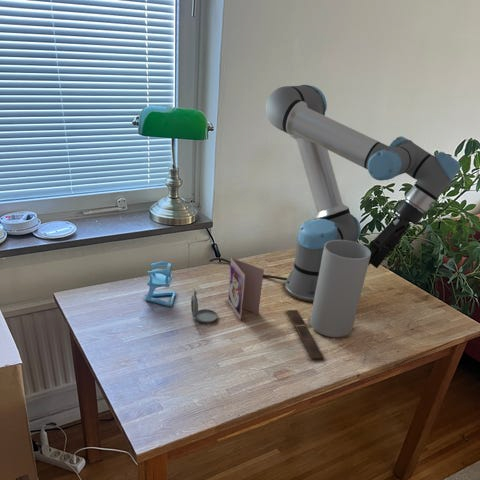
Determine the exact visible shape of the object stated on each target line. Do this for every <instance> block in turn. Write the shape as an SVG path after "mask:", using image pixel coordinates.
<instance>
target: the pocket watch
mask: <svg viewBox="0 0 480 480" xmlns="http://www.w3.org/2000/svg"><path fill="white" fill-rule="evenodd" d="M193 290H194V292H193V294H192V295H191V298H190V308H191V314H192V318H194V319H195V320H196V321H197V322H200V323H202V324H203V323H204V324H210V323H213V322H216V320H217V319H218V313H217V311H214V310H212V309H207V308H203V309H199V301H198V297H197V291H196V290H195V287H193Z"/></svg>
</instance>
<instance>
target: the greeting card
mask: <svg viewBox="0 0 480 480" xmlns="http://www.w3.org/2000/svg"><path fill="white" fill-rule="evenodd" d="M230 261H231V264H230V263H228V264H229V277H228V278H229V279H228V289H227V291H228V292H227V303H228V304H229V306H230V307H231V309H232V310H233V312H234V313H235V315H236V316H237V317H238V319H239V320H240V321H242V311H243V309H245V310H247V311H250V312H252V313H254V314H258V315H259V313H260V305H261V303H260V302H261V294H262V287H263V279H264V277H263V275H264V271H265V270H264V269H263V268H261V267H258V266H255V265H253V264H250V263H247V262H245V261H241V260H238V259H236V258H233V257H230Z"/></svg>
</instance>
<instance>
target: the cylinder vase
mask: <svg viewBox="0 0 480 480" xmlns="http://www.w3.org/2000/svg"><path fill="white" fill-rule="evenodd" d="M370 256H371V251H370V250H369V247H367V246H366V245H365V244H362V243H360V242H358V241H357V242H353V241H348V240H332V241H328V242H326V243H325V245H324V250H323V255H322V260H321V266H320V271H319V276H318V281H317V287H316V292H315V297H314V302H312V307H311V313H310V317H309V318H310V319H309V324H310V326H311V328H312V329H313V330H314V331H315V332H317V333H318V334H320V335H323V336H325V337H330V338H342V337H346V336H348V335H350V333H352V330H353V327H354V322H355V318H356V316H357V311H358V307H359V303H360V299H361V295H362V291H363V287H364V284H365V280H366V275H367V273H368V272H367V271H368V268H369V266H368V264H369V260H370ZM369 265H370V264H369Z"/></svg>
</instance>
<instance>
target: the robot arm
mask: <svg viewBox="0 0 480 480" xmlns="http://www.w3.org/2000/svg"><path fill="white" fill-rule="evenodd" d="M327 105H328V104H327V100H326V96H325V95H324V93H323V92H322V90H321V89H319V88H318V87H316V86H314V85H309V84H301V85H285V86H280V87H278V88H276V89H274V90H273V91H272V92H271V93H270V95H269V97H267V100H266V104H265V115H266V117H267V119H268V121H269V122H270V124H271V125H272V126H273V127H275V128H276V129H277V130H280V131H282V132H283V133H286V134H288V135H289V136H290V138H292V139H294V140H295V141H296V144H297V146H298V147H297V148H298V149H299V154H300V157H301V161H302V164H303V168H304V172H305V175H306V178H307V181H308V184H309V188H310V191H311V194H312V199H313V203H314V206H315V210H316V214H315V216H314V218H311V219H308V220H305V221H304V222H302V224H301V225H300V227H299V231H298V233H297V243H296V247H295V249H296V250H295V256H294V263H293V267H292V269H291V270H290V273H289V274H288V277H282V276H278V275H277V276H276V275H268V274H263V278H268V279H275V280H281V281H285V284H284V291H285V292H286V293H287V294H288V295H289V296H290V297H292V298H294V299H296V300H299V301H302V302H308V303H313V302H314V297H315V292H316V287H317V281H318V276H319V271H320V266H321V260H322V255H323V250H324V245H325V243H326V242H328V241H332V240H348V241H353V242H357V243H358V241H359V239H360V237H361V231H362V229H361V224H360V222H359V220H358V218H357V217H356V216H354V215H353V214H351V211H350V207H349V206H348V205H345V204H344V203H343V200H342V196H341V193H340V189H339V186H338V182H337V178H336V175H335V172H334V167H333V165H332V164H333V163H332V160H331V157H330V154H329V153H330V152H331V153H334V154H336V155H338V156H339V157H341V158H343V159H345V160H347V161H349V162H351V163H354V164H356V165H357V166H359V167H361V168H364V169H365V170H368V173H369V175H370V177H371V178H373V179H374V180H376V181H389V180H392V179H393V178H396V177H398V176H400V175H403V174H406V175H408V176H409V177H411V178H412V179H414V180H416V182H415V183H414V184H413V186H412V187H411V188H409V190H408V191H407V193H406V195H405V196H404V199H403V200H401V201H400V203H398V205H397V206H396V208H395V212H396V213H397V214H398V215H399V216H394V217H393V218H392V219H391V220H390V222H389V223H388V224H387V225H386V226H385V227H384V228H383V229H382V230H381V232H380V233H379V234H378V235H377V236H376V237H375V238H374V239H373V240H371V241H370V242H369V245H371V246H370V247H368V249H369V250H370V251H371V256H370V260H369V264H368V267H369V266H370V265H371V266H373V267H374V268H375V269H378V268H379V266H380V265H381V264H382V263H383V262H384V261H385V259H386V258H387V257H388V255H389V254H390V253H394V252H395V249H396V247H397V245H398V243H399V242H400V241H401V239H402V238H403V236H404V234H405V233H406V232H407V230H408V229H409V228H410V227H411V224H413V225H418V224H419V223H420V221H421V220H422V219H423V218H424V216H425V214H424V213H428V211H429V210H430V209H431V208H434V207H435V204H434V203H436V201H437V200H438V198H439V197H440V196H441V195H442V194H443V192H444V191H445V190H446V189H447V188H448V187H449V185H450V184H451V183H452V182H453V180H454V178H455V177H456V176H457V174H458V172H459V171H460V170H461V167H462V166H461V163H460V162H459V161H458V160H457V159H455V158H454V157H453V156H451V155H449V154H447V153H446V152H444V151H439V152H438V153H437V154H436V155H433V154H431V153H429V152H428V150H427V151H426V150H425V149H423V148H422V147H421V146H419V145H418V144H416V143H414V142H413V140H410V139H408V138H406V137H404V136H397V137H396V138H395V139H393V140H392V141H391V143H390V144H389V145H387V144H385V143H384V142H383V143H382V142H380V141H379V140H377V139H374V138H373V137H371V136H368V135H367V134H364V133H363V132H360V131H357V130H356V129H353V128H352V127H349V126H348V125H345V124H343V123H341V122H339V121H336V120H334V119H333V118H330V117H328V116H326V112H327V108H328V107H327ZM215 261H221V262H225V263H228V264H230V265H231V260H229V259H226V258H223V257H213V258H211V259H210V260H208V262H210V263H212V262H215Z"/></svg>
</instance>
